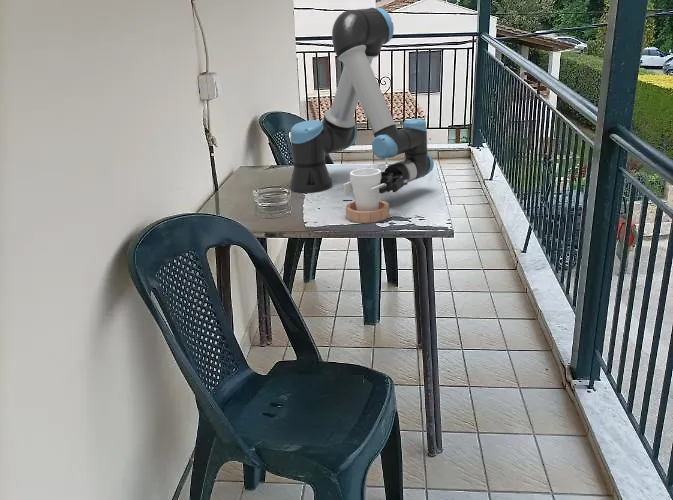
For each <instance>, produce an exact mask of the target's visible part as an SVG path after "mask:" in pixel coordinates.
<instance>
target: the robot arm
mask: <svg viewBox="0 0 673 500" xmlns="http://www.w3.org/2000/svg"><path fill="white" fill-rule="evenodd" d="M390 15H391V14H390V13H388V12H387V11H386V10H385V9H383V8H381V7H380V8H379V7H368V8H359V9H348V10H345V11H343V12H342V13H340V14H339V15H338V16H337V17H336V19H335V20H334V23H333V25H332V31H331V35H332V36H331V40H332V45H333V49H334V53H335V55H336V57H337V60H338V61H340V62H342V63H343V68H342V72H341V74H340V79H339V81H338V85H337V88H336V91H335V93H334V97H333V101H332V103H331V106H330V109H328V110H326V111H325V113H324V116H323V119H322V121H321V120H319V119H310V120H304V121H301V122H298V123H295V124H294V125H293V126H292V127H291V128H290V143H291V153H292V163H293V168H292V169H293V170H292V174H291V180H290V190H291V191H293V192H297V193H317V192H322V191H326V190H328V189H331V188H332V187H333V182H332V177H331V176H330V173H329V170H328V168H327V164H326V155H329V154H333V153H335V152H336V153H337V152H340V151H341V152H342V151H344V150H347V149H348V148H350V147H352V146H353V145H354V144H355V142H356V140H357V138H358V130H357V125H356V119H355V118H354V114H355V112H356V109H357V106H358V103H360V105H361V108H362V110H363V112H364V115H365V117H366V119H367V121H368V124H369V127H370V128H371V131H372V133H373V140H372V142H371V146H372V148H371V150H372V153H373V154H374V155H375V157H377V158H378V159H381V160H386V158H387V159H390V158H394V157H396V156H399V155H402V154H404V159H402V160H399V161H397V162H395V163H392V164H388V165H389V166H388V167H387V168H386V169H384V171H381V182H380V185H378V186H376V187H373V188H371V189H370V195H371V198H373V197H376V196H378V195H379V196H380V195H382V194H385V193H390V192H392V193H397V192H398V191H399V190H400V189H402V188H403V187H404V186H406V185H408V184H409V183H411V182H412V181H415V180H418V179H420V178H424V177H425V176H427V175H429V174H430V173H431V172H432V171H433V169H434V167H435V166H434V160H433V158H432V155H430V154H429V153H428V131H427V122H426V120H424V119H422V118H409V119H406V120H404V122H403V124H402V128H401V129H398V127H397V126H396V123H395V121H394V118H393V117H392V113H391V112H390V109H389V106H388V104H387V102H386V99H385V97H384V95H383V94H384V93H383V92H382V90H381V87H380V85H379V82H378V80H377V77H376V75H375V73H374V70H373V68H372V66H371V65H372V63H373V60H374V59H375V58H378V56H379V55H380V53H381V49H382V46H383V45H386V44H388V43H389V42H390V41H391V40H392V39H393V35H394V29H395V27H394V23H393V21H392V17H391V16H390ZM342 190H343V191H342V192H343V194H346V193H349V192H351V191H352V192H353V189H352V184H351V181H350V180H349V181H348V182H345V183H343V184H342Z"/></svg>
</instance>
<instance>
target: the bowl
mask: <svg viewBox="0 0 673 500" xmlns="http://www.w3.org/2000/svg"><path fill="white" fill-rule="evenodd" d="M345 215H346V219H347V220H348V221H350V222H351V223H357V224H373V223H379V222H383V221H385V220H387V219H388V218H389V217H390V204H389V203H388V202H387V201H386V200H385V201H384V200H380V199H379V209H378V210H373V211H357V208H356V203H355V201H352V202H350V203H347V204H346V206H345Z"/></svg>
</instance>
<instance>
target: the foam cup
mask: <svg viewBox="0 0 673 500" xmlns="http://www.w3.org/2000/svg"><path fill="white" fill-rule="evenodd" d="M381 170H382V169H380V168H370V167H368V168H365V167H364V168H358V169H354V170H351V171H350V173H349V182H350V181H351V184H352V189H353V190H352V193H353V197H354V198H353V199H354V202H355V203H356V208H357V211H373V210H378V209H379V200H380V195H378V196H376V197H373V198H371V195H370V189H371V188H373V187H376V186H378V185H380V182H381V172H382V171H381Z"/></svg>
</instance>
